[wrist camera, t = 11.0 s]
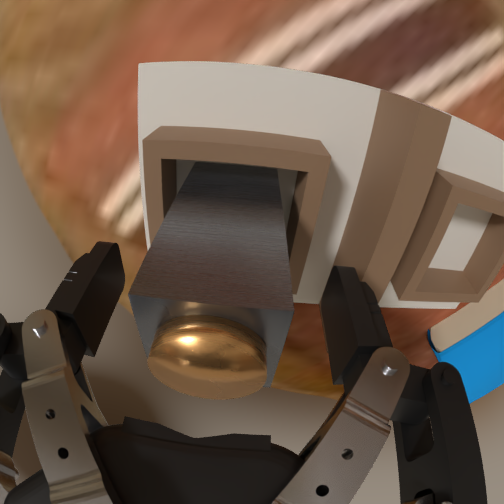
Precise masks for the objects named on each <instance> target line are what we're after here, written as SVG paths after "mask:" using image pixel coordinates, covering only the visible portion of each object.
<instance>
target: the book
mask: <svg viewBox="0 0 504 504" xmlns="http://www.w3.org/2000/svg"><path fill="white" fill-rule="evenodd" d="M428 341H429V344H430V346H431V347H432V349H433V351H434V353H435V355H436V357H437V359H438V361H439V362H447V363H450V364H452V365H453V366H454V367H455V368H456V369H457V370H458V371H459V373H460V375H461V377H462V381H463V384H464V387H465V390H466V394H467V397H468V401H469V404H470V403H472V402H473V401H475V400H477V399H479V398H481V397H482V396H484V395H486V394H487V393H489V392H490V391H492V390H494V389H495V388H497V387H498V386H500V385H502V384H503V383H504V279H503V280H502V281H500V282H499V283H498V284H496V285H495V286H494V287H492V288H491V289H489V290H488V291H487V292H486V293H485V294H484V296H483V297H482V298H481V300H480V301H479V303H472V302H471V303H469V304H468V305H466V306H465V307H463V308H462V309H460V310H459V311H457V312H456V313H454V314H452V315H451V316H449V317H448V318H446V319H444V320H443V321H441V322H440V323H438V324H436V325H435V326H433V327H431V333H430V331H429V329H428Z"/></svg>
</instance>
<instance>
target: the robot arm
mask: <svg viewBox="0 0 504 504" xmlns="http://www.w3.org/2000/svg"><path fill="white" fill-rule="evenodd" d="M124 284H125V273H124V269H123V264H122V259H121V255H120V250H119V246H118V244H117V243H111V242H101V241H99V242H97V243H96V244H95V246H94V247H93V249H92V250H91V252H90V253H85V254H84V255H83V256H81V257H80V258H79V259H78V260H76V261H75V263H74V264H73V266H72V267H71V269H70V270H69V273H67V275H66V277H65V278H64V281H62V283H61V284H60V286H59V287H58V289H57V291H56V292H55V294H54V295H53V297H52V299H51V300H50V302H49V304H48V305H47V307H46V309H41V310H37V311H35V312H33V313H31V314H30V315H29V316H28V317H27V318H26V319H25V321H24V322H19V323H7V321H6V319H5V318H4V316H3V315H2V314H0V366H1V367H2V368H3V370H2V373H1V375H0V504H349V503H350V501H351V500H352V498H353V497H354V495H355V494H356V492H357V491H358V489H359V488H360V486H361V484H362V483H363V481H364V479H365V478H366V476H367V475H368V473H369V471H370V469H371V468H372V466H373V464H374V462H375V461H376V459H377V457H378V455H379V453H380V451H381V449H382V448H383V445H384V444H385V442H386V440H387V438H388V435H389V433H390V430H391V426H390V425H388V423H389V420H392V421H393V427H394V435H395V443H396V451H397V461H398V472H399V482H400V500H401V504H487V495H486V485H485V477H484V470H483V464H482V458H481V452H480V447H479V442H478V437H477V433H476V428H475V424H474V420H473V416H472V413H471V409H470V404H469V401H468V397H467V394H466V390H465V387H464V384H463V381H462V377H461V375H460V373H459V371H458V370H457V369H456V368H455V367H454V366H453V365H452V364H450V363H447V362H438V363H436V364H435V365H434V366H433V367H432V368H431V369H426V368H422V367H418V366H414V365H411V364H409V362H408V360H407V358H406V357H405V355H404V354H403V353H402V352H400V351H399V350H397V349H395V348H393V346H392V342H391V339H390V336H389V333H388V330H387V327H386V324H385V321H384V318H383V315H382V314H381V310H380V307H379V305H378V301H377V299H376V296H375V293H374V291H373V290H372V289H371V288H370V286H369V285H368V284H367V283H366V282H362V281H360V280H359V278H358V275H357V272H356V269H355V268H354V267H348V266H337V265H335V266H333V268H332V270H331V273H330V276H329V279H328V281H327V284H326V287H325V290H324V292H323V295H322V300H321V312H322V318H323V323H324V329H325V335H326V341H327V347H328V353H329V359H330V366H331V373H332V379H333V385H336V384H344V390H345V392H344V393H343V394H342V396H341V397H340V399H339V400H338V402H337V403H336V405H335V406H334V408H333V409H332V411H331V412H330V414H329V415H328V417H327V418H326V420H325V421H324V423H323V424H322V425H321V427H320V428H319V430H318V431H317V432H316V434H315V435H314V436H313V437H312V439H311V440H310V441H309V442H308V443H307V445H306V446H305V447H304V448H303V449H302V451H301V452H300V453H299V455H297V454H295V453H294V452H292V451H290V450H288V449H286V448H284V447H282V446H279V445H277V444H273V443H271V435H248V434H227V435H220V436H212V437H204V438H192V437H189V436H187V435H184V434H182V433H179V432H177V431H174V430H172V429H170V428H167V427H165V426H163V425H161V424H158V423H153V422H148V421H143V420H139V419H134V418H130V417H125V418H124V422H123V424H117V425H110V426H108V424H107V422H106V420H105V418H104V417H103V415H102V413H101V412H100V410H99V408H98V406H97V404H96V401H95V398H94V395H93V393H92V390H91V387H90V384H89V382H88V379H87V376H86V373H85V369H84V366H83V364H82V362H81V361H82V358H83V356H84V355H88V356H92V357H95V354H96V352H97V349H98V347H99V344H100V342H101V339H102V337H103V334H104V332H105V330H106V327H107V325H108V323H109V320H110V318H111V316H112V313H113V311H114V309H115V306H116V304H117V302H118V300H119V297H120V295H121V293H122V291H123V288H124ZM25 408H26V412H27V416H28V421H29V425H30V429H31V433H32V436H33V440H34V443H35V447H36V450H37V453H38V456H39V459H40V462H41V465H42V469H41V470H39V471H38V472H37V473H35V474H34V475H32V476H31V477H29V478H28V479H26V480H25V481H23V482H22V483H20V484H19V485H18V486H17V485H16V482H15V481H16V480H17V479H18V478H19V472H18V470H17V469H16V468H15V466H14V463H13V460H12V455H13V451H14V446H15V442H16V438H17V434H18V431H19V427H20V423H21V420H22V416H23V413H24V410H25ZM429 417H430V418H429ZM430 421H431V423H430ZM431 427H432V428H431ZM432 432H433V434H432ZM433 438H434V440H433Z"/></svg>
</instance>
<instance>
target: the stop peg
mask: <svg viewBox="0 0 504 504" xmlns="http://www.w3.org/2000/svg"><path fill="white" fill-rule="evenodd" d="M128 296H129V299H130V303H131V307H132V310H133V314H134V317H135V321H136V324H137V327H138V330H139V334H140V337H141V340H142V343H143V347H144V349H145V353H146V355H147V359H148V367H149V369H150V371H151V372H152V374H153V375H154V376H155V377H156V378H157V379H158V380H159V381H160V382H162V383H163V384H165V385H166V386H168V387H170V388H172V389H174V390H176V391H179V392H181V393H184V394H187V395H191V396H194V397H199V398H206V399H220V400H222V399H234V398H240V397H244V396H247V395H250V394H252V393H254V392H256V391H258V390H259V389H260V388H262V387H270V386H271V383H272V380H273V377H274V374H275V371H276V368H277V365H278V362H279V359H280V356H281V353H282V350H283V346H284V343H285V340H286V337H287V334H288V330H289V327H290V324H291V321H292V317H293V314H294V303H293V293H292V283H291V274H290V265H289V257H288V248H287V240H286V231H285V223H284V215H283V208H282V200H281V193H280V185H279V178H278V171H277V169H274V168H265V167H255V166H244V165H233V164H220V163H206V162H195V164H194V165H193V167H192V169H191V171H190V172H189V174H188V176H187V178H186V179H185V181H184V183H183V185H182V187H181V188H180V190H179V192H178V194H177V196H176V197H175V199H174V201H173V203H172V205H171V207H170V209H169V210H168V212H167V214H166V216H165V218H164V220H163V222H162V224H161V226H160V228H159V230H158V232H157V234H156V236H155V238H154V240H153V242H152V244H151V246H150V248H149V250H148V252H147V254H146V256H145V258H144V260H143V262H142V265H141V267H140V269H139V271H138V273H137V275H136V277H135V280H134V282H133V284H132V286H131V289H130V291H129V293H128Z"/></svg>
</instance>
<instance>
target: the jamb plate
mask: <svg viewBox="0 0 504 504" xmlns="http://www.w3.org/2000/svg"><path fill="white" fill-rule="evenodd" d="M138 141H139V163H140V179H141V192H142V204H143V214H144V224H145V232H146V241H147V248H148V250H149V248H150V246H151V244H152V242H153V240H154V238H155V236H156V234H157V232H158V230H159V228H160V226H161V224H162V222H163V220H164V218H165V216H166V214H167V212H168V210H169V209H170V207H171V205H172V203H173V201H174V199H175V197H176V196H177V194H178V192H179V190H180V188H181V187H182V185H183V183H184V181H185V179H186V178H187V176H188V174H189V172H190V171H191V169H192V167H193V165H194V164H195V162H206V163H220V164H233V165H244V166H255V167H265V168H274V169H277V171H278V178H279V185H280V193H281V200H282V208H283V215H284V223H285V231H286V240H287V248H288V257H289V265H290V274H291V283H292V293H293V302H296V303H310V304H319V308H320V313H321V319H322V325H323V331H324V337H325V343H326V349H327V353H328V347H327V341H326V335H325V329H324V323H323V318H322V312H321V300H322V295H323V292H324V290H325V287H326V284H327V281H328V279H329V276H330V273H331V270H332V268H333V266H335V265H337V266H348V267H354V268H355V269H356V272H357V275H358V278H359V280H360V281H362V282H366V283H367V284H368V285H369V286H370V288H371V289H372V290H373V291H374V293H375V296H376V299H377V301H378V305H379V307H391V308H440V309H456V307H457V306H458V304H459V303H460V302H472V303H479V301H480V300H481V298H482V297H483V296H484V294H485V293H486V291H487V289H488V288H489V286H490V285H491V283H492V282H493V280H494V278H495V277H496V275H497V274H498V272H499V270H500V269H501V267H502V265H503V263H504V141H503V140H501V139H499V138H497V137H496V136H494V135H492V134H490V133H488V132H486V131H484V130H482V129H480V128H478V127H476V126H474V125H472V124H470V123H468V122H466V121H464V120H462V119H460V118H457V117H455V116H453V115H451V114H448V113H446V112H444V111H441V110H439V109H436V108H434V107H431V106H429V105H426V104H423V103H421V102H418V101H415V100H413V99H410V98H407V97H404V96H401V95H398V94H395V93H392V92H389V91H385V90H382V89H379V88H375V87H372V86H368V85H365V84H361V83H357V82H353V81H349V80H345V79H341V78H336V77H332V76H327V75H322V74H317V73H312V72H306V71H300V70H294V69H288V68H280V67H273V66H264V65H255V64H244V63H229V62H205V61H175V62H151V63H139V70H138Z"/></svg>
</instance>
